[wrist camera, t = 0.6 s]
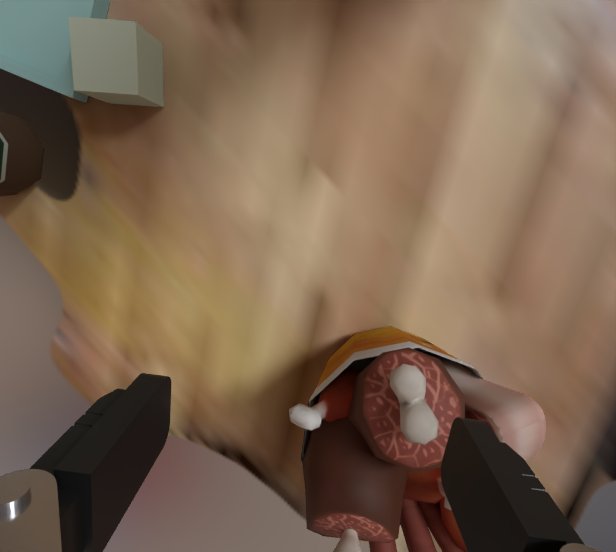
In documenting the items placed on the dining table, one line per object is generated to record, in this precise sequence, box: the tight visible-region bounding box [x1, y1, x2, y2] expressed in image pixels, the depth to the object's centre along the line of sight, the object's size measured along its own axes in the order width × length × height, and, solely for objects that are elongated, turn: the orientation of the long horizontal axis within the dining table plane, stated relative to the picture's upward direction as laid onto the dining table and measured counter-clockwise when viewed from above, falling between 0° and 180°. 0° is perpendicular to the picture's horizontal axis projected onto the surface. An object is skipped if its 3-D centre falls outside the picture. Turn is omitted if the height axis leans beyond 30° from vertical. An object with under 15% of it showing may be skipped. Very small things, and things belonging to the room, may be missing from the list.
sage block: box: [68, 16, 164, 107], centre depth 30 cm, size 5×5×5 cm
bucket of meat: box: [289, 326, 546, 552], centre depth 30 cm, size 20×16×20 cm
